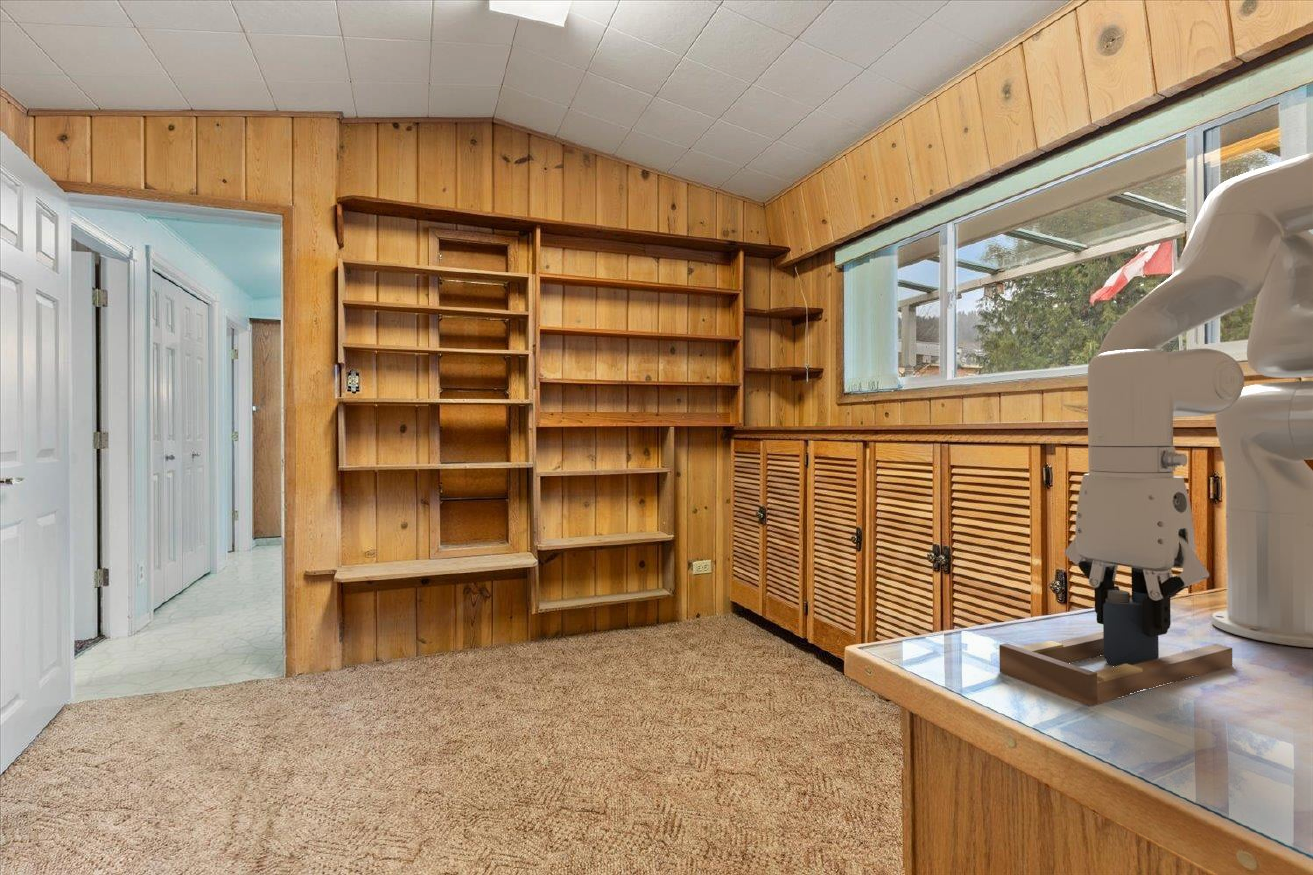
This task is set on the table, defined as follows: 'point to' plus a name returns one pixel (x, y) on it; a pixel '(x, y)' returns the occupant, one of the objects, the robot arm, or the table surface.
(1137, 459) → the robot arm
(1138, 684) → the rail channel
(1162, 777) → the table surface
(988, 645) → the table surface
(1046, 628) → the table surface
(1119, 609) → the vaping device
